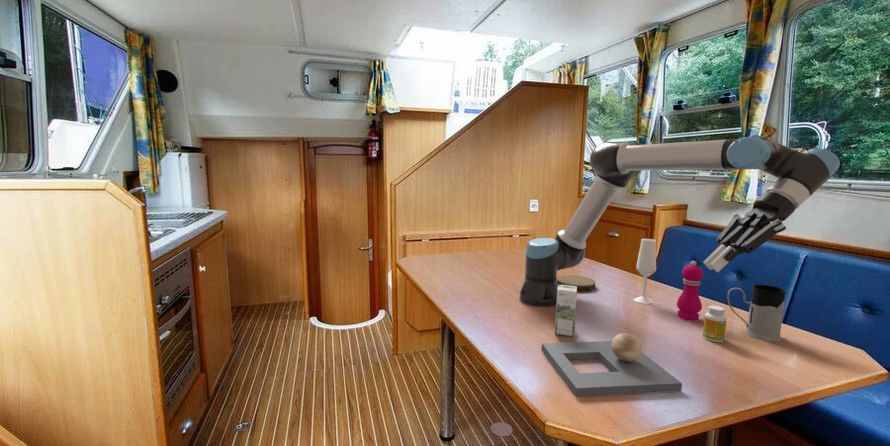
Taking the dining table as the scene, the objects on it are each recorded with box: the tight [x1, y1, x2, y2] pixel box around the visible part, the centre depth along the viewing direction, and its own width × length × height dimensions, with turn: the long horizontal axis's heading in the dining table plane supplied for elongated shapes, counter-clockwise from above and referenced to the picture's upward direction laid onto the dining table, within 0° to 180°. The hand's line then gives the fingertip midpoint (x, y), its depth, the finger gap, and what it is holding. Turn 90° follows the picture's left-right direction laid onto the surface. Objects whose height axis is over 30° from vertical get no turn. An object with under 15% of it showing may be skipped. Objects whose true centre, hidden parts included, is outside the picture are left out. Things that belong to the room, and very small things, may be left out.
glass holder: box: [726, 284, 786, 343], centre depth 119 cm, size 9×14×15 cm, turn 58°
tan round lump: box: [611, 332, 643, 362], centre depth 97 cm, size 7×7×7 cm
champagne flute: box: [633, 238, 657, 305], centre depth 147 cm, size 7×7×24 cm
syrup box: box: [554, 285, 578, 338], centre depth 118 cm, size 6×6×14 cm
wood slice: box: [556, 274, 596, 293], centre depth 166 cm, size 16×16×3 cm
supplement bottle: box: [702, 305, 727, 343], centre depth 115 cm, size 5×5×10 cm
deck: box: [541, 340, 683, 397], centre depth 97 cm, size 25×22×2 cm
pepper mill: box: [676, 260, 704, 322], centre depth 130 cm, size 7×7×20 cm
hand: (710, 267), depth 96 cm, fingers closed
